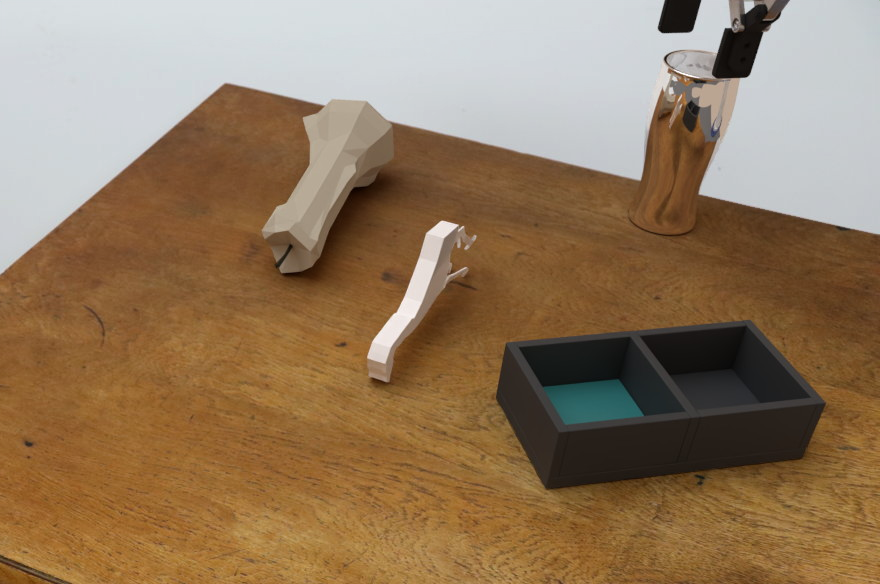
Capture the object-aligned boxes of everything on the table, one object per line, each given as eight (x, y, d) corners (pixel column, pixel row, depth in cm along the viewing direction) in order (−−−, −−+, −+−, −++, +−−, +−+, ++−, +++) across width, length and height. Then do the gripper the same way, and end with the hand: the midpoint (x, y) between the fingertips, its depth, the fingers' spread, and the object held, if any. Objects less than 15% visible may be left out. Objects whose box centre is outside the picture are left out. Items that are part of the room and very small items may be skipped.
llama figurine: (429, 341, 97) (358, 381, 81) (461, 214, 94) (394, 229, 77) (449, 347, 96) (381, 388, 80) (482, 220, 93) (418, 236, 77)
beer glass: (715, 225, 103) (762, 70, 94) (664, 245, 100) (708, 86, 90) (657, 194, 107) (697, 42, 98) (607, 212, 104) (643, 57, 95)
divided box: (731, 373, 85) (750, 319, 82) (803, 458, 77) (826, 402, 74) (495, 397, 81) (505, 342, 78) (545, 489, 74) (559, 432, 70)
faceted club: (412, 163, 108) (339, 307, 90) (330, 169, 111) (244, 309, 93) (395, 77, 103) (314, 211, 85) (310, 87, 106) (215, 218, 88)
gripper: (876, -138, 77) (796, 94, 88) (750, -192, 90) (693, 15, 101) (780, -138, 76) (710, 98, 86) (666, -194, 89) (617, 17, 100)
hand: (701, 53), depth 94 cm, fingers open, 9 cm apart
